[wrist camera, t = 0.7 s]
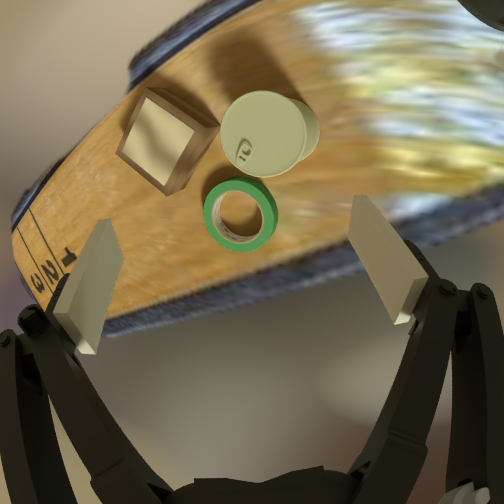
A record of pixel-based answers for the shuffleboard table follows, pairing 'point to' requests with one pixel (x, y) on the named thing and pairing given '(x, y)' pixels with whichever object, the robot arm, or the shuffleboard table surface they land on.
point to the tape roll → (220, 230)
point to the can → (268, 133)
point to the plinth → (166, 139)
